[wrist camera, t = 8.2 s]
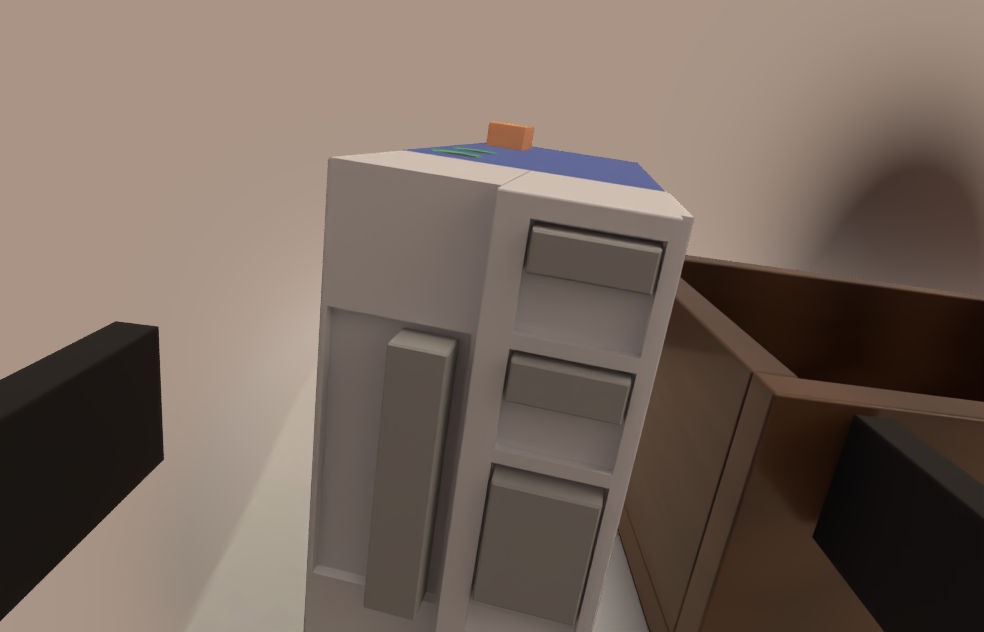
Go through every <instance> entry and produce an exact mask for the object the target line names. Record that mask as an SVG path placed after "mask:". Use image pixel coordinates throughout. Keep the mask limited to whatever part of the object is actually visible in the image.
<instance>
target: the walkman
mask: <svg viewBox="0 0 984 632" xmlns="http://www.w3.org/2000/svg"><path fill="white" fill-rule="evenodd" d="M533 133H534V127H527V126H521V125H515V124H508V123H501V122H490V123H489V130H488V136H487V143H478V144H467V145H455V146H444V147H432V148H421V149H409V150H402V151H393V152H383V153H371V154H360V155H349V156H338V157H330V158H329V159H328V174H327V175H328V177H327V194H326V214H325V232H324V252H323V272H322V290H321V309H320V329H319V347H318V348H319V349H318V367H317V386H316V405H315V424H314V444H313V463H312V482H311V501H310V521H309V540H308V559H307V578H306V598H305V617H304V632H592V630H593V626H594V622H595V618H596V614H597V610H598V606H599V602H600V598H601V594H602V590H603V586H604V582H605V578H606V574H607V570H608V566H609V562H610V558H611V554H612V549H613V545H614V541H615V537H616V533H617V529H618V525H619V521H620V517H621V513H622V509H623V505H624V501H625V497H626V493H627V489H628V485H629V481H630V477H631V473H632V469H633V465H634V461H635V457H636V453H637V449H638V444H639V440H640V436H641V432H642V428H643V424H644V420H645V416H646V412H647V408H648V404H649V400H650V396H651V392H652V388H653V384H654V380H655V376H656V372H657V368H658V364H659V360H660V356H661V352H662V348H663V344H664V339H665V335H666V331H667V327H668V323H669V319H670V315H671V311H672V307H673V303H674V299H675V295H676V291H677V287H678V283H679V279H680V275H681V271H682V267H683V263H684V259H685V255H686V251H687V247H688V242H689V239H690V234H691V230H692V226H693V222H694V217H693V216H692V215H691V214H690V213H689V212H688V211H687V210H686V209H685V208H684V207H683V206H682V205H681V204H680V203H679V202H678V201H677V200H676V199H675V198H674V197H673V196H672V195H671V194H669V193H668V192H665V191H664V190H663V189H662V188H661V187H660V186H659V185H658V184H657V183H656V182H655V181H654V180H653V179H652V178H651V177H650V175H648V174H647V172H646V171H645V170H644V169H643V168H642V167H641V166H640V165H639V164H638V163H635V162H628V161H622V160H616V159H609V158H603V157H596V156H589V155H582V154H577V153H569V152H564V151H557V150H551V149H544V148H538V147H532V140H533Z"/></svg>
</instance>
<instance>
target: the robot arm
mask: <svg viewBox="0 0 984 632" xmlns="http://www.w3.org/2000/svg"><path fill="white" fill-rule="evenodd" d="M163 460H164V453H163V430H162V403H161V381H160V355H159V330H158V327H156V326H149V325H140V324H133V323H124V322H114V323H112V324H110V325H108V326H106V327H104V328H102V329H100V330H98V331H96V332H94V333H92V334H90V335H88V336H86V337H84V338H82V339H80V340H78V341H76V342H74V343H72V344H70V345H68V346H66V347H65V348H62V349H61V350H58V351H57V352H55V353H53V354H51V355H49V356H47V357H45V358H43V359H41V360H39V361H37V362H35V363H33V364H31V365H29V366H27V367H25V368H23V369H21V370H19V371H17V372H15V373H13V374H11V375H9V376H7V377H6V378H3V379H1V380H0V621H1V620H2V619H3V618H4V617H5V616H6V615H7V614H8V613H9V612H10V611H11V610H12V609H13V608H14V607H15V606H16V605H17V604H18V603H19V602H20V601H21V600H22V599H23V598H24V597H25V596H26V595H27V594H28V593H29V592H30V591H31V590H32V589H33V588H34V587H35V586H36V585H37V584H38V583H39V582H40V581H41V580H42V579H43V578H44V577H45V576H46V575H47V574H48V573H49V572H50V571H51V570H53V569H54V567H56V565H57V564H59V563H60V562H61V561H62V560H63V559H64V558H65V557H66V556H67V555H68V554H69V553H70V552H71V551H72V550H73V549H74V548H75V547H76V546H77V545H78V544H79V543H80V542H81V541H82V540H83V539H84V538H85V537H86V536H87V535H88V534H89V533H90V532H91V531H92V530H93V529H94V528H95V527H96V526H97V525H98V524H99V523H100V522H101V521H102V520H103V519H104V518H105V517H106V516H107V515H108V514H109V513H110V512H111V511H112V510H113V509H114V508H115V507H116V506H117V505H118V504H119V503H120V502H121V501H122V500H123V499H124V498H125V497H126V496H127V495H128V494H129V493H130V492H131V491H132V490H133V489H134V488H135V487H136V486H137V485H138V484H139V483H140V482H141V481H142V480H143V479H144V478H145V477H146V476H147V475H148V474H149V473H150V472H152V471H153V470H154V469H155V468H156V466H158V465H159V464H160V463H161V462H162V461H163ZM812 538H813V539H814V540H815V542H816V543H817V544H818V546H819V547H820V548H821V550H822V551H823V552H824V554H825V555H826V556H827V557H828V559H829V560H830V561H831V563H832V564H833V565H834V567H835V568H836V569H837V571H838V572H839V573H840V575H841V576H842V577H843V579H844V580H845V581H846V582H847V584H848V585H849V586H850V588H851V589H852V590H853V592H854V593H855V594H856V596H857V597H858V598H859V600H860V601H861V602H862V604H863V605H864V606H865V607H866V609H867V610H868V611H869V613H870V614H871V615H872V617H873V618H874V619H875V621H876V622H877V623H878V625H879V626H880V627H881V629H882V630H883V631H884V632H984V485H982V484H981V483H980V482H978V481H977V480H976V479H974V478H973V477H972V476H970V475H969V474H968V473H966V472H965V471H964V470H962V469H961V468H960V467H958V466H957V465H956V464H954V463H953V462H952V461H950V460H949V459H947V458H946V457H945V456H943V455H942V454H941V453H939V452H938V451H937V450H935V449H934V448H933V447H931V446H930V445H929V444H927V443H926V442H925V441H923V440H922V439H921V438H919V437H918V436H916V435H915V434H914V433H912V432H911V431H910V430H908V429H907V428H906V427H904V426H903V425H902V424H900V423H899V422H898V421H896V420H895V419H889V418H881V417H873V416H865V415H857V414H855V415H854V418H853V420H852V423H851V426H850V429H849V432H848V435H847V438H846V441H845V443H844V446H843V449H842V452H841V455H840V458H839V461H838V464H837V467H836V469H835V472H834V475H833V478H832V481H831V484H830V487H829V490H828V492H827V495H826V498H825V501H824V504H823V507H822V510H821V513H820V516H819V518H818V521H817V524H816V527H815V530H814V533H813V536H812Z"/></svg>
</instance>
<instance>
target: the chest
mask: <svg viewBox="0 0 984 632" xmlns="http://www.w3.org/2000/svg"><path fill="white" fill-rule="evenodd" d="M855 414H857V415H865V416H873V417H881V418H889V419H895V420H896V421H898V422H899V423H900V424H902V425H903V426H904V427H906V428H907V429H908V430H910V431H911V432H912V433H914V434H915V435H916V436H918V437H919V438H921V439H922V440H923V441H925V442H926V443H927V444H929V445H930V446H931V447H933V448H934V449H935V450H937V451H938V452H939V453H941V454H942V455H943V456H945V457H946V458H947V459H949V460H950V461H952V462H953V463H954V464H956V465H957V466H958V467H960V468H961V469H962V470H964V471H965V472H966V473H968V474H969V475H970V476H972V477H973V478H974V479H976V480H977V481H978V482H980V483H981V484H982V485H984V296H980V295H973V294H966V293H959V292H951V291H943V290H936V289H929V288H922V287H915V286H907V285H900V284H893V283H886V282H878V281H870V280H864V279H856V278H849V277H842V276H834V275H827V274H820V273H812V272H805V271H798V270H790V269H783V268H776V267H769V266H761V265H753V264H746V263H740V262H732V261H725V260H717V259H710V258H702V257H696V256H688V255H685V259H684V263H683V267H682V271H681V275H680V279H679V283H678V287H677V291H676V295H675V299H674V303H673V307H672V311H671V315H670V319H669V323H668V327H667V331H666V335H665V339H664V344H663V348H662V352H661V356H660V360H659V364H658V368H657V372H656V376H655V380H654V384H653V388H652V392H651V396H650V400H649V404H648V408H647V412H646V416H645V420H644V424H643V428H642V432H641V436H640V440H639V444H638V449H637V453H636V457H635V461H634V465H633V469H632V473H631V477H630V481H629V485H628V489H627V493H626V497H625V501H624V505H623V509H622V513H621V517H620V521H619V525H618V530H619V533H620V536H621V540H622V543H623V546H624V549H625V552H626V556H627V559H628V562H629V565H630V568H631V572H632V575H633V578H634V581H635V584H636V588H637V591H638V594H639V597H640V600H641V604H642V607H643V610H644V613H645V616H646V620H647V623H648V626H649V629H650V632H884V631H883V630H882V629H881V627H880V626H879V625H878V623H877V622H876V621H875V619H874V618H873V617H872V615H871V614H870V613H869V611H868V610H867V609H866V607H865V606H864V605H863V604H862V602H861V601H860V600H859V598H858V597H857V596H856V594H855V593H854V592H853V590H852V589H851V588H850V586H849V585H848V584H847V582H846V581H845V580H844V579H843V577H842V576H841V575H840V573H839V572H838V571H837V569H836V568H835V567H834V565H833V564H832V563H831V561H830V560H829V559H828V557H827V556H826V555H825V554H824V552H823V551H822V550H821V548H820V547H819V546H818V544H817V543H816V542H815V540H814V539H813V538H812V536H813V533H814V530H815V527H816V524H817V521H818V518H819V516H820V513H821V510H822V507H823V504H824V501H825V498H826V495H827V492H828V490H829V487H830V484H831V481H832V478H833V475H834V472H835V469H836V467H837V464H838V461H839V458H840V455H841V452H842V449H843V446H844V443H845V441H846V438H847V435H848V432H849V429H850V426H851V423H852V420H853V418H854V415H855Z"/></svg>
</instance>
